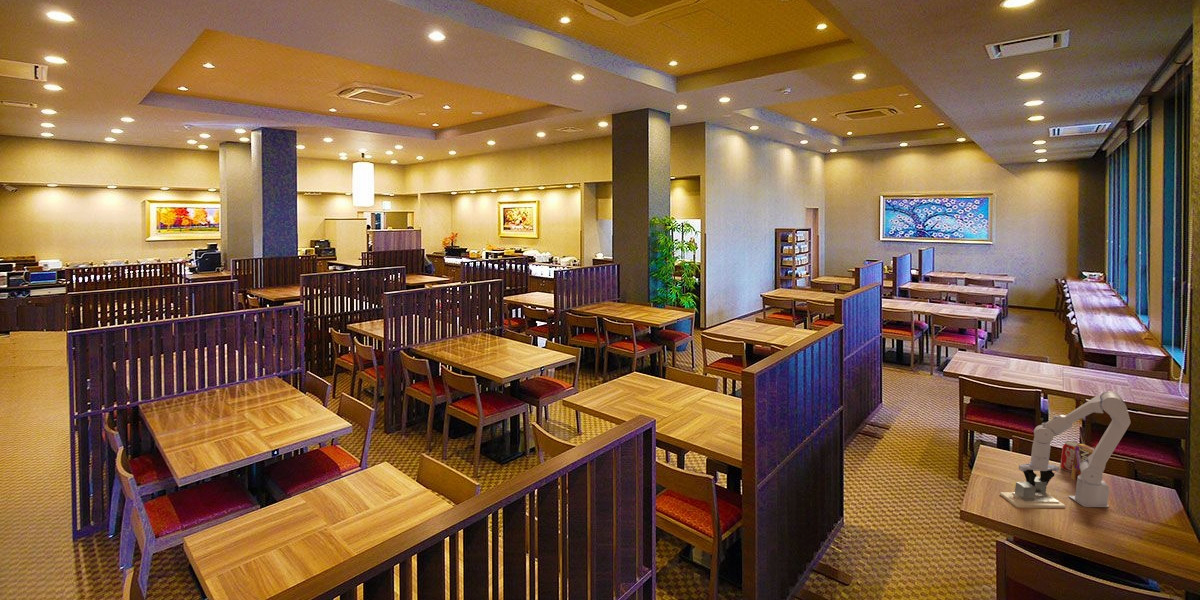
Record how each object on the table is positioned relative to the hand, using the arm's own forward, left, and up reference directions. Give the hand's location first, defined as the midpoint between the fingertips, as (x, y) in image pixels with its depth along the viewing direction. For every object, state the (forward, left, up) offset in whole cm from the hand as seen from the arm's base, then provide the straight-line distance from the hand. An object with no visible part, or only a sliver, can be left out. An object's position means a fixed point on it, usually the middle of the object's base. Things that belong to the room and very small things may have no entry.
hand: (1036, 487), depth 236 cm
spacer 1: (+10, +8, 0) cm, 13 cm away
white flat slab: (+6, +8, 0) cm, 10 cm away
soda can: (-28, -19, -2) cm, 34 cm away
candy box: (-25, -7, -2) cm, 26 cm away
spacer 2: (0, 0, -2) cm, 2 cm away
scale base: (+7, +9, -1) cm, 11 cm away
